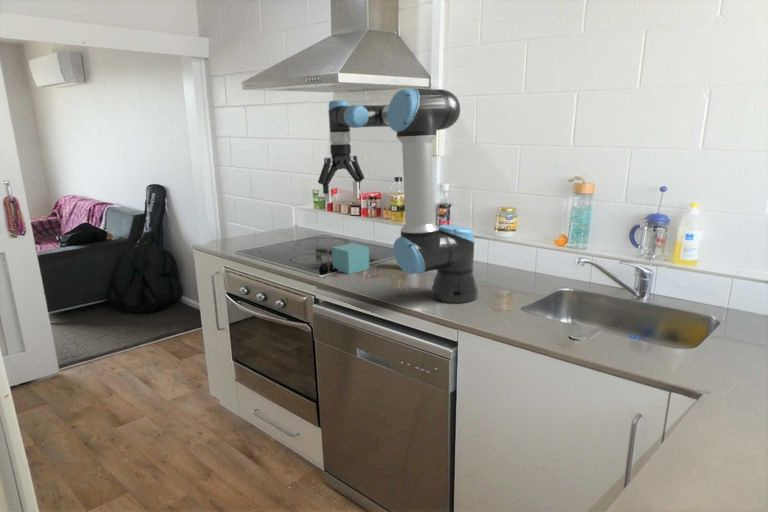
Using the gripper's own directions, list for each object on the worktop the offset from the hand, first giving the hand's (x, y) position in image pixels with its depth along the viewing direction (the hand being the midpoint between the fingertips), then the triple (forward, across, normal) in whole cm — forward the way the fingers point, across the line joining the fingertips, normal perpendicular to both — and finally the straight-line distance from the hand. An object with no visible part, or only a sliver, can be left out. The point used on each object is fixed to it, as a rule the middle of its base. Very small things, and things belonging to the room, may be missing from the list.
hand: (342, 200), depth 199 cm
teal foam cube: (+27, 0, +4) cm, 27 cm away
